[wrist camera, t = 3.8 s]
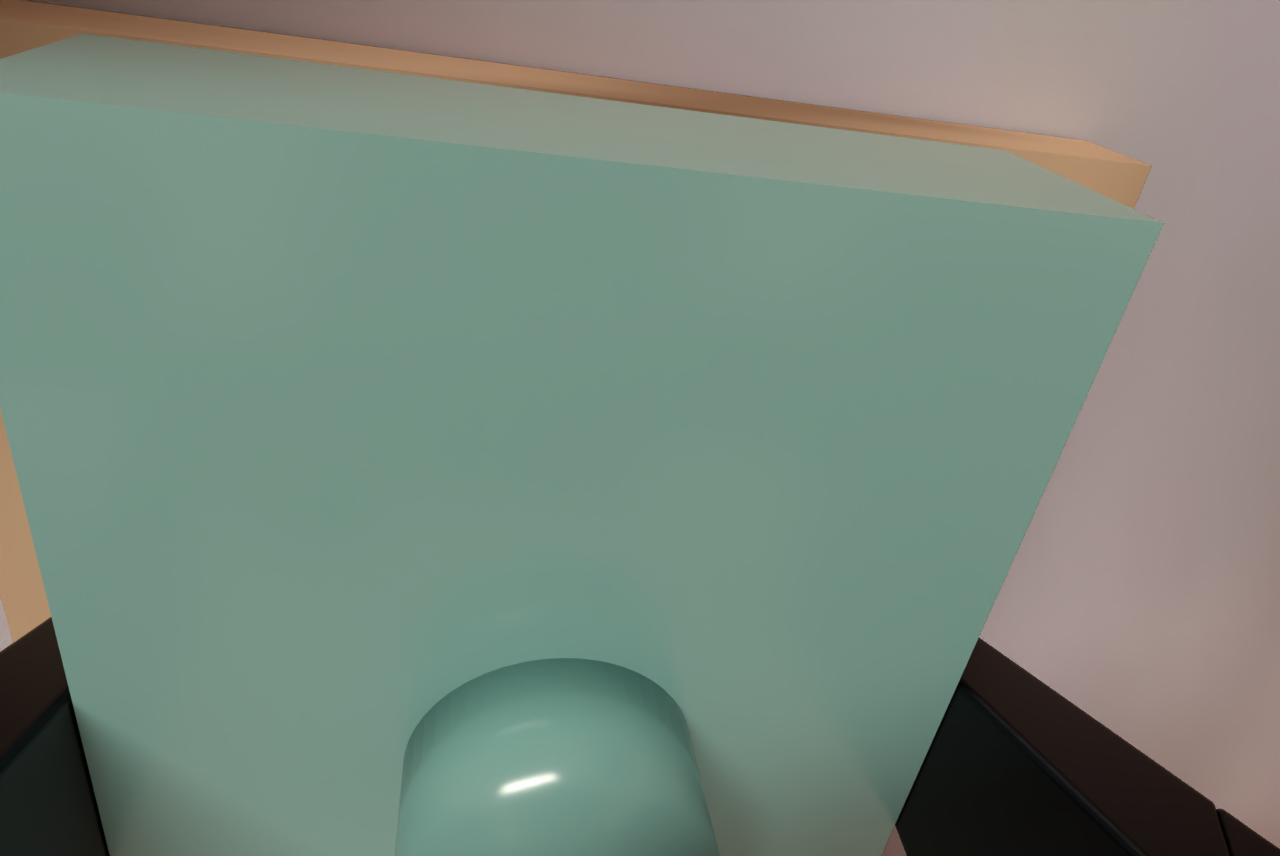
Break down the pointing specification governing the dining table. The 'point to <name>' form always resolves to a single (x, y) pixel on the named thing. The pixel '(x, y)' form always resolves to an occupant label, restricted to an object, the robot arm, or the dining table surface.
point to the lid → (518, 450)
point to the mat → (13, 26)
